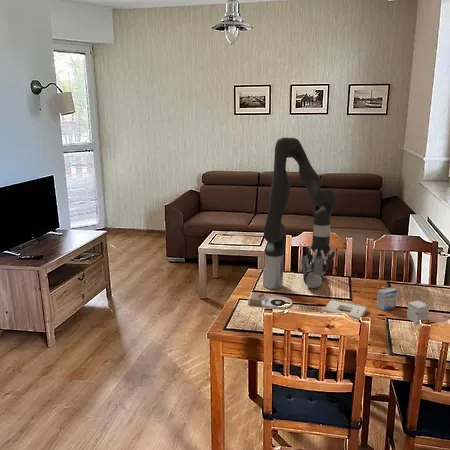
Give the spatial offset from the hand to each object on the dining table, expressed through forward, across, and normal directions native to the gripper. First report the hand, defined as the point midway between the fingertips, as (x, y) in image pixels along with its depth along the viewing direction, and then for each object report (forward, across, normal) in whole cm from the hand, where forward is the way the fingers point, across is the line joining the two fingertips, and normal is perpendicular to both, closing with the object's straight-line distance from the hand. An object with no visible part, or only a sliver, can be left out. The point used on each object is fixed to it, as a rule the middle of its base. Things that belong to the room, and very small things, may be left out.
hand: (319, 270), depth 202 cm
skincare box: (+18, +42, +8) cm, 46 cm away
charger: (+2, 0, 0) cm, 2 cm away
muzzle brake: (+18, -14, +29) cm, 37 cm away
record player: (+18, -20, -7) cm, 28 cm away
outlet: (+17, +12, -1) cm, 21 cm away
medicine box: (+18, +28, +14) cm, 36 cm away
